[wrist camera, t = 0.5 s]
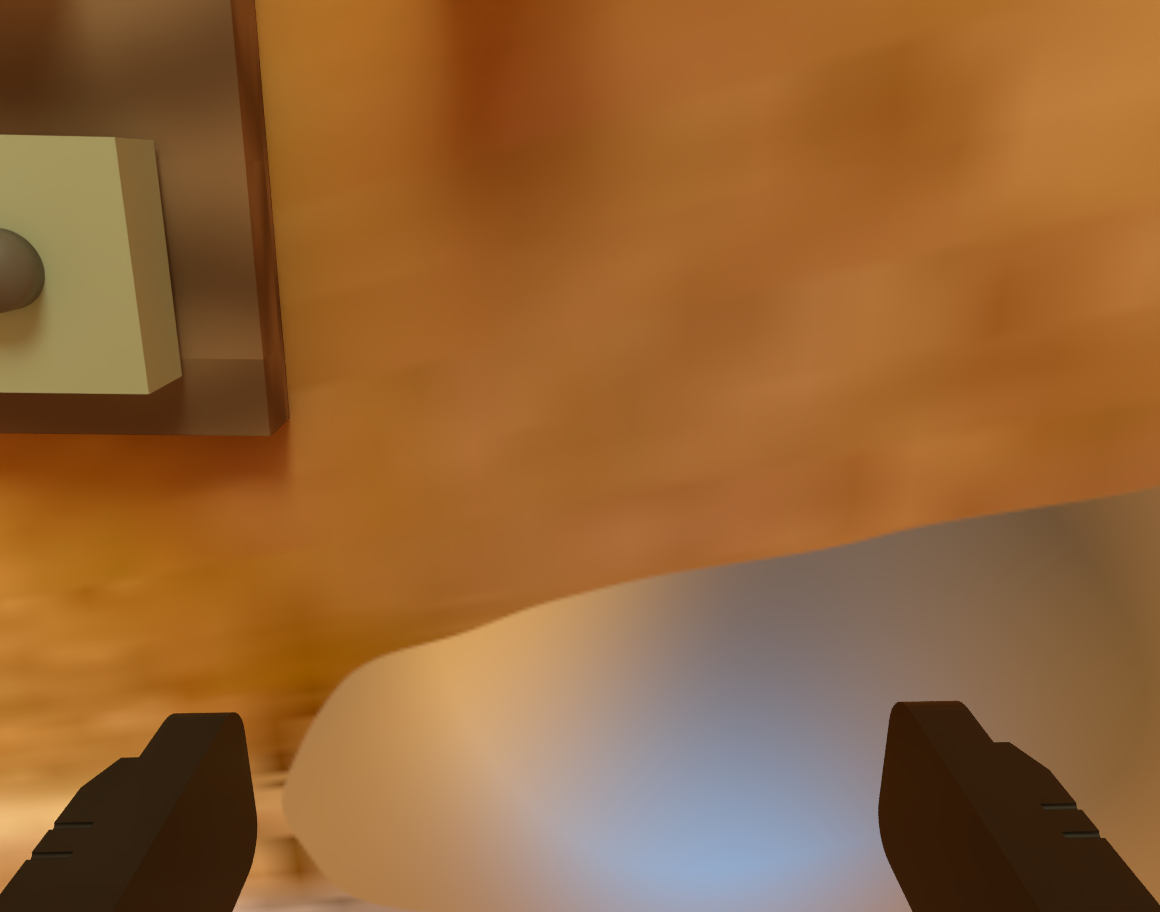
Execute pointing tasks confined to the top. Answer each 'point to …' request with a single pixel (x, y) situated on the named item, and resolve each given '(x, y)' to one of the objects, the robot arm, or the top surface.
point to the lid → (83, 268)
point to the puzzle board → (166, 195)
